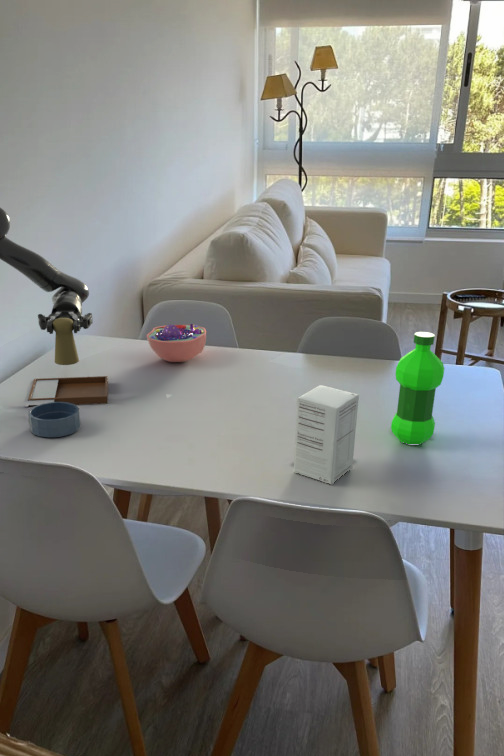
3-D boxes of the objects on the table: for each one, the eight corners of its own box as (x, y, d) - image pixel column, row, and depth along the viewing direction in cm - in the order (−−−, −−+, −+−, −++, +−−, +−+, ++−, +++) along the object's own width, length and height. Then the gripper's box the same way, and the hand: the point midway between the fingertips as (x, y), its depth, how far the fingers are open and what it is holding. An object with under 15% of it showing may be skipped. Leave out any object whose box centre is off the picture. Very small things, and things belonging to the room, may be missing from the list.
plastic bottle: (378, 438, 162) (390, 332, 151) (410, 428, 168) (423, 325, 157) (411, 454, 155) (426, 344, 144) (443, 443, 160) (459, 336, 150)
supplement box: (315, 457, 152) (320, 383, 145) (353, 468, 148) (360, 393, 140) (291, 473, 145) (295, 396, 138) (331, 486, 141) (337, 407, 133)
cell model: (220, 355, 215) (220, 319, 210) (181, 373, 199) (180, 334, 194) (175, 346, 223) (174, 310, 218) (134, 362, 207) (132, 325, 202)
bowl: (28, 440, 157) (25, 421, 155) (33, 420, 167) (31, 402, 165) (79, 437, 159) (77, 419, 157) (81, 418, 169) (80, 400, 167)
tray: (28, 407, 175) (27, 399, 174) (34, 385, 188) (34, 378, 187) (107, 403, 178) (107, 396, 177) (108, 382, 191) (107, 375, 190)
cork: (53, 365, 176) (48, 322, 171) (55, 357, 181) (51, 315, 176) (78, 364, 177) (74, 321, 172) (79, 357, 182) (76, 315, 177)
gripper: (37, 298, 185) (30, 315, 170) (93, 296, 187) (91, 314, 172) (40, 325, 188) (34, 345, 173) (95, 324, 190) (94, 343, 176)
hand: (63, 329), depth 173 cm, fingers closed on cork, 5 cm apart
